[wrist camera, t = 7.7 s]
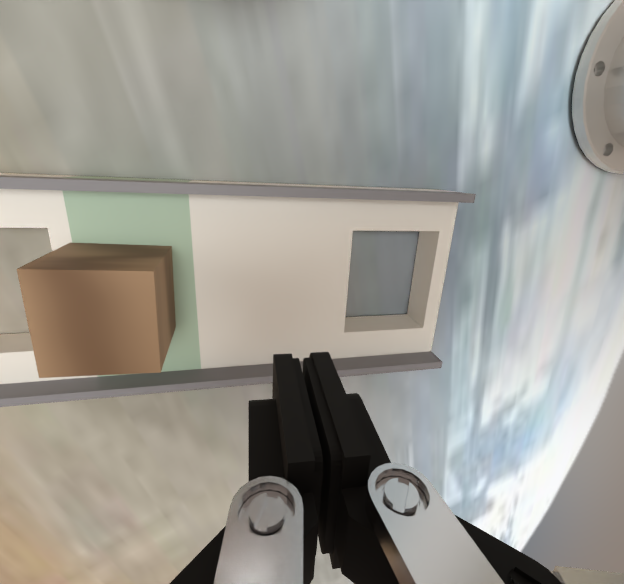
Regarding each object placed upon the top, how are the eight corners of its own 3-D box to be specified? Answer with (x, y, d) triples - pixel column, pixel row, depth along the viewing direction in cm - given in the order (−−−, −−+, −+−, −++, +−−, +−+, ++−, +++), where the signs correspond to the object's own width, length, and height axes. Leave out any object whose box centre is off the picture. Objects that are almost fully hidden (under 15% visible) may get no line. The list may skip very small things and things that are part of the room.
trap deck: (438, 189, 24) (475, 194, 21) (413, 341, 28) (441, 367, 25) (-85, 169, 18) (-166, 170, 14) (-20, 371, 22) (-70, 413, 18)
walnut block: (171, 246, 19) (153, 271, 15) (175, 327, 21) (160, 372, 16) (70, 242, 18) (16, 268, 14) (83, 328, 20) (39, 378, 15)
